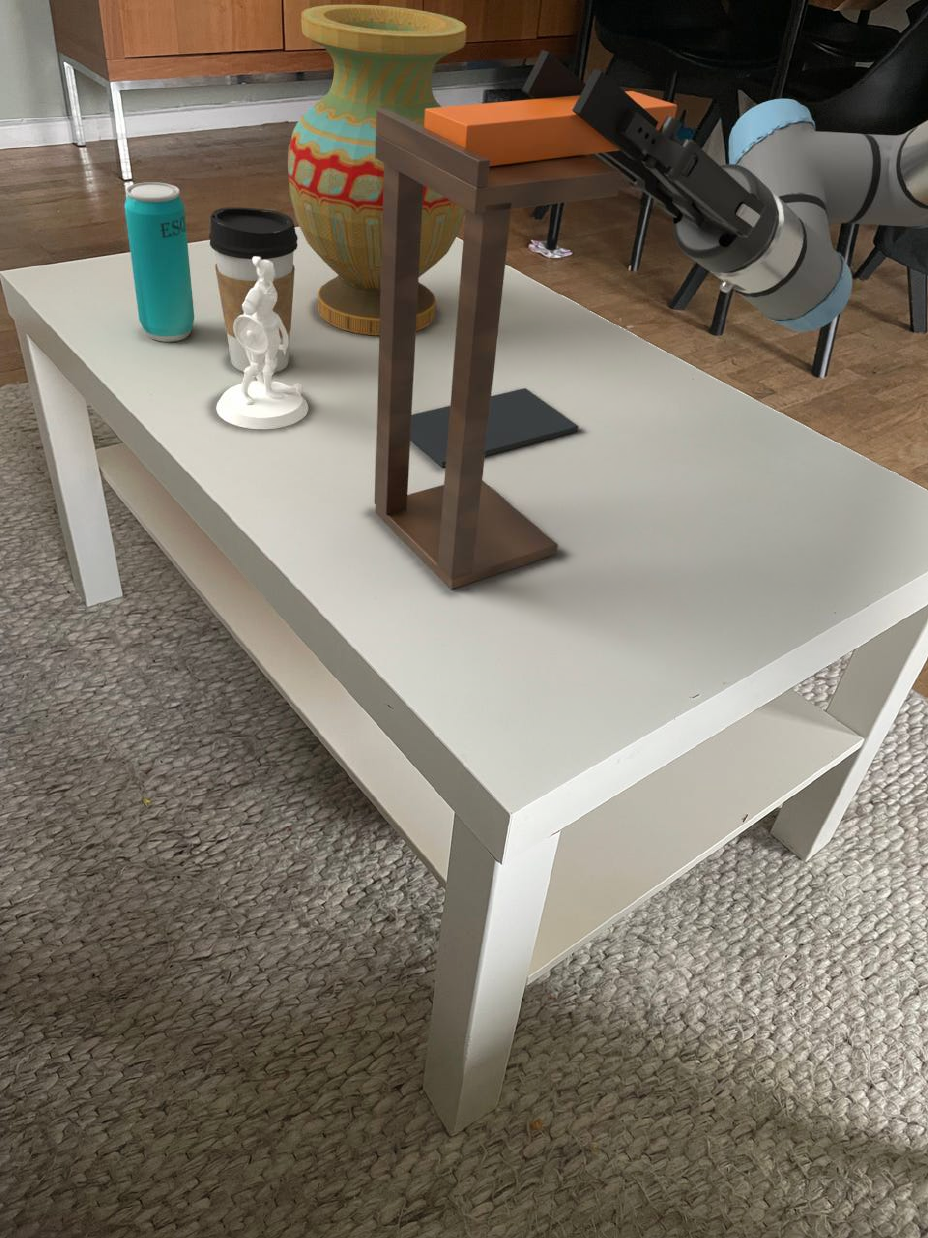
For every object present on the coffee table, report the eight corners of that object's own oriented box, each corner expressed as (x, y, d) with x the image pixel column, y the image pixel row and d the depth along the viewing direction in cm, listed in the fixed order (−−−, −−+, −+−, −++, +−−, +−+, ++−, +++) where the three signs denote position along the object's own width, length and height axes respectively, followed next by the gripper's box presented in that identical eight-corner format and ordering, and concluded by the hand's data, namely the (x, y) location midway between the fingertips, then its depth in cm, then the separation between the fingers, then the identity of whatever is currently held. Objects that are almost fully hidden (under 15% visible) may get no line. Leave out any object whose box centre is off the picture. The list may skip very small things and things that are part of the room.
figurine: (266, 438, 93) (259, 280, 84) (196, 408, 97) (181, 253, 87) (326, 405, 99) (325, 253, 90) (258, 378, 103) (251, 229, 93)
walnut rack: (476, 484, 90) (515, 99, 70) (556, 554, 83) (626, 146, 63) (366, 515, 85) (375, 108, 65) (442, 593, 78) (479, 160, 58)
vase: (495, 319, 119) (524, 31, 100) (371, 363, 108) (378, 45, 89) (381, 268, 129) (388, -4, 110) (256, 303, 117) (241, 6, 98)
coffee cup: (214, 347, 108) (202, 202, 98) (293, 342, 110) (289, 201, 100) (224, 382, 101) (212, 232, 92) (307, 377, 104) (304, 229, 94)
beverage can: (207, 332, 110) (194, 189, 101) (169, 349, 106) (153, 202, 97) (167, 317, 112) (151, 177, 103) (129, 334, 108) (109, 189, 99)
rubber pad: (524, 392, 105) (525, 387, 105) (577, 431, 100) (578, 425, 99) (392, 424, 98) (392, 418, 97) (441, 467, 92) (442, 462, 92)
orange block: (626, 128, 73) (632, 90, 71) (670, 143, 70) (677, 104, 69) (422, 151, 64) (424, 107, 62) (464, 169, 61) (467, 125, 59)
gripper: (791, 312, 77) (618, 176, 60) (638, 236, 88) (456, 103, 71) (850, 220, 75) (687, 52, 58) (686, 154, 86) (509, -4, 69)
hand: (560, 81), depth 65 cm, fingers closed on orange block, 5 cm apart
